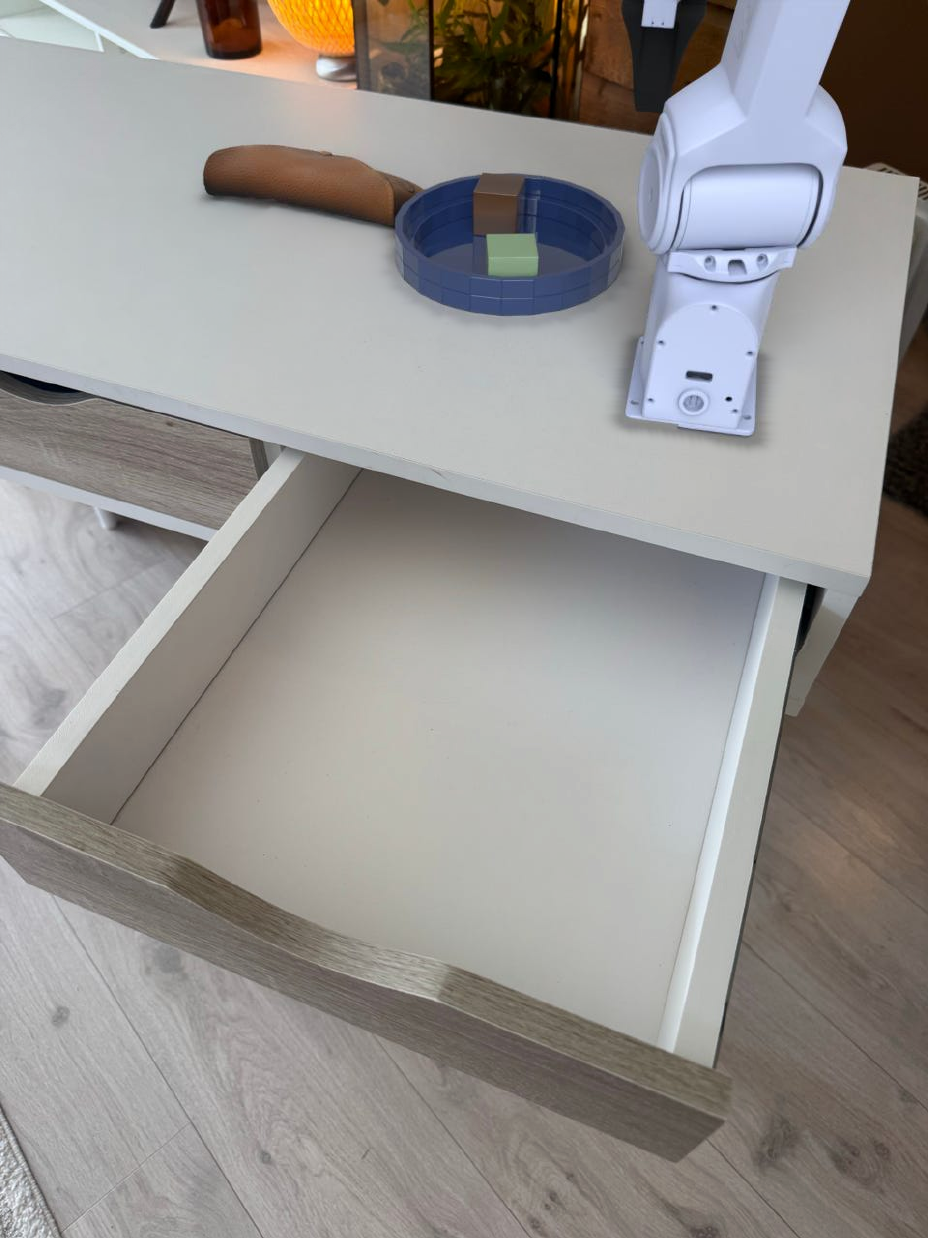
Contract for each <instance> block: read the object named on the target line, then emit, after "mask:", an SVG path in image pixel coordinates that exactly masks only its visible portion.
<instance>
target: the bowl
mask: <svg viewBox="0 0 928 1238" xmlns="http://www.w3.org/2000/svg"><path fill="white" fill-rule="evenodd" d="M502 174H503V175H513V176H524V177H525V178H526V180H525V200H524V219H523V222H522V225H521V227H520V230H519V232H518V234H535V239H536V245H537V251H538V257H539V259H538V275H535V276H494V275H486V236H480V235H473V191H474V189H475V187H476V185H477V183H478V181H479V179H480V177H481V175H482V174H476V175H469V176H460V177H457V178H453V179H449V180H446V181H443V182H438V183H436V184H434V185H432V186H430V187H428V188H425V189H424V190H423V191H421V192H419V193H417V194H416V195H414V196H413V197H412V198H411V199H409V200H408V201H407V202H406V203H404V204H403V206H402V207H401V209H400V211H399V212H398V214H397V216H396V218H395V227H394V241H395V258H396V267H397V269H398V270H399V272H400V274H401V276H402V278H403V280H404V281H405V282H406V283H407V284H408V285H410V286H411V287H412V288H413V289H414V290H415V291H417V292H418V293H419V294H421V295H423V296H425V297H426V298H429V299H430V300H433V301H435V302H437V303H440V304H441V305H444V306H448V307H451V308H455V309H459V310H462V311H466V312H471V313H478V314H487V315H493V316H494V315H496V316H501V317H504V316H533V315H538V314H539V315H540V314H544V313H551V312H557V311H562V310H566V309H569V308H572V307H575V306H577V305H580V304H583V303H587V302H588V301H590V300H591V299H593V298H595V297H597V296H598V295H600V294H602V293H603V292H605V291H606V290H607V289H608V288H609V286H611V284H612V283H613V282H614V281H615V280H616V278H617V277H618V275H619V272H620V267H621V263H622V258H623V250H624V249H623V248H624V242H625V235H626V234H625V233H626V225H625V222H624V219H623V217H622V214H621V212H620V211H619V210H618V209H617V208H616V207H615V205H613V203H612V202H611V201H610V200H608V199H607V198H605V197H603V196H602V195H600V194H599V193H597V192H595V191H593V190H592V189H589V188H587V187H584V186H582V185H580V184H576V183H575V182H572V181H568V180H564V179H559V178H554V177H550V176H545V175H538V174H527V173H515V172H513V173H512V172H511V173H509V172H508V173H507V172H506V173H502Z"/></svg>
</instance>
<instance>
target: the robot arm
mask: <svg viewBox="0 0 928 1238" xmlns="http://www.w3.org/2000/svg"><path fill="white" fill-rule="evenodd" d="M708 1H709V0H622V1H621V8H620V11H621V16H622V20H623V23H624V25H625V28H626V32H627V35H628V40H629V45H630V51H631V59H632V79H633V80H632V84H633V100H634V107H635V112H640V113H641V112H643V113H653V114H660V115H659V117H658V121H657V124H656V127H655V131H654V133H653V135H652V138H651V140H650V142H649V144H648V145H647V147H646V148H645V151H644V152H643V156H642V159H641V163H640V169H639V176H638V185H637V206H636V207H637V223H638V230H639V234H640V238H641V241H642V242H643V243H644V245H645V246H646V247H647V248H648V250H649V252H650V253H651V254H653V255H657V257H656V262H655V267H654V268H655V270H654V274H653V280H652V288H651V293H650V301H649V305H648V312H647V318H646V324H645V330H644V335H641V336H639V338H638V340H637V346H636V350H635V354H634V355H635V356H634V361H633V367H632V371H631V377H630V383H629V388H628V393H627V398H626V404H625V409H624V415H625V416H626V417H628V418H631V419H637V420H645V421H652V422H661V423H667V424H673V425H677V428H682V429H691V430H698V431H704V432H713V433H720V434H728V435H736V436H742V437H749V436H752V435H753V434H754V431H755V426H756V395H757V394H756V393H757V371H758V370H757V369H758V368H757V367H758V355H759V350H760V347H761V344H762V340H763V336H764V332H765V328H766V324H767V321H768V317H769V314H770V310H771V305H772V302H773V298H774V294H775V290H776V287H777V283H778V279H779V276H780V272H781V270H784V269H791V268H793V266H794V262H795V258H796V256H797V252H798V250H799V251H800V250H806V249H807V248H810V247H811V246H812V245H813V244H814V243H815V242H816V241H817V239H818V238H819V236H820V235H821V234H822V233H823V231H824V230H825V228H826V226H827V225H828V222H829V221H830V218H831V215H832V212H833V209H834V205H835V201H836V195H837V188H838V181H839V177H840V174H841V171H842V167H843V164H844V162H845V159H846V156H847V152H848V143H847V141H848V140H847V133H846V126H845V122H844V119H843V115H842V113H841V110H840V108H839V106H838V104H837V103H836V101H835V100H834V98H833V97H832V96H831V95H830V94H829V92H827V90H826V89H824V88H823V86H821V85H820V84H819V83H820V81H821V79H822V76H823V73H824V70H825V68H826V65H827V62H828V60H829V57H830V54H831V52H832V50H833V48H834V45H835V41H836V39H837V37H838V34H839V31H840V29H841V26H842V23H843V20H844V18H845V15H846V13H847V10H848V7H849V5H850V2H851V0H737V1H736V6H735V8H734V12H733V16H732V19H731V23H730V26H729V30H728V33H727V37H726V40H725V45H724V47H723V52H722V55H721V59H720V62H719V63H718V64H717V65H716V66H714V67H713V68H711V69H710V70H709V71H708V72H706V73H704V74H703V75H702V76H700V77H698V78H697V79H696V80H694V81H692V82H691V83H689V84H688V85H686V86H685V87H683V88H682V89H680V90H679V91H677V92H676V93H675V94H673V95H672V92H673V89H674V85H675V82H676V79H677V75H678V72H679V68H680V65H681V63H682V60H683V57H684V54H685V52H686V50H687V48H688V46H689V44H690V41H691V40H692V38H693V36H694V35H695V33H696V32H697V30H698V28H699V27H700V25H701V23H702V21H703V19H704V18H705V16H706V13H707V6H708ZM671 95H672V96H671ZM635 403H637V404H635Z"/></svg>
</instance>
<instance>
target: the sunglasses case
mask: <svg viewBox="0 0 928 1238" xmlns="http://www.w3.org/2000/svg"><path fill="white" fill-rule="evenodd" d="M202 184H203V185H202V186H203V187H204V190H205V192H206V194H207V195H209V196H212V197H213V196H216V195H219V196H220V195H221V196H226V197H238V198H243V199H248V198H251V199H254V200H263V201H264V200H266V201H267V200H268V201H269V200H273V201H275V202H278V203H282V204H286V205H292V206H296V207H300V208H306V209H314V210H320V211H323V212H326V213H330V214H335V215H340V216H346V217H350V218H356V219H360V220H365V221H370V222H375V223H379V224H381V225H384V226H393V228H395V218H396V216H397V214H398V212H399V211H400V209H401V207H402V206H403V204H404V203H406V202H407V201H408V200H409V199H411V198H412V197H413V196H414V195H416V194H417V193H419V192H421V191H423V190H425V189H424V188H422V187H421V186H419V185H418V184H416V183H414V182H411V181H409V180H407V179H404V178H401V177H399V176H396V175H393V174H390V173H387V172H384V171H380V170H377V169H374V168H373V167H371V166H370V165H368V163H365V162H364V161H361V160H360V159H357V158H355V157H352V156H347V155H339V154H333V153H332V152H331V151H326V150H322V151H317V150H313V149H309V148H299V147H293V146H286V145H281V144H245V145H236V146H229V147H225V148H221V149H218V150H217V149H216V150H215V151H213V152H211V154H209V155H208V157H207V158H206V160H205V163H204V166H203V171H202Z"/></svg>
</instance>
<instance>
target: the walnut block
mask: <svg viewBox="0 0 928 1238" xmlns="http://www.w3.org/2000/svg"><path fill="white" fill-rule="evenodd" d="M503 174H504V173H490V172H482V173H481V174H480V175H481V177H480V179H479V181H478V183H477V185H476V187H475V189H474V191H473V235H480V236H486V235H487V234H518V232H519V230H520V227H521V225H522V222H523V219H524V200H525V180H526V178H525V177H524V176H513V175H503Z"/></svg>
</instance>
